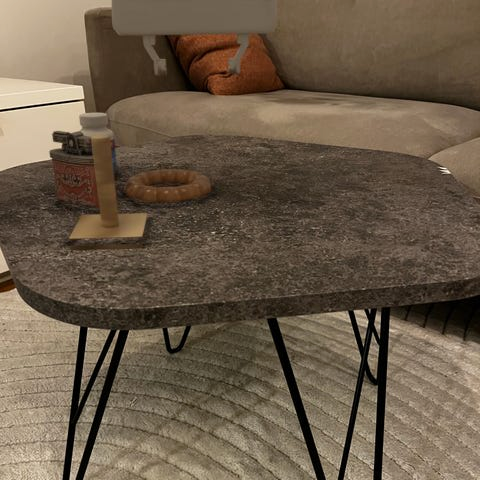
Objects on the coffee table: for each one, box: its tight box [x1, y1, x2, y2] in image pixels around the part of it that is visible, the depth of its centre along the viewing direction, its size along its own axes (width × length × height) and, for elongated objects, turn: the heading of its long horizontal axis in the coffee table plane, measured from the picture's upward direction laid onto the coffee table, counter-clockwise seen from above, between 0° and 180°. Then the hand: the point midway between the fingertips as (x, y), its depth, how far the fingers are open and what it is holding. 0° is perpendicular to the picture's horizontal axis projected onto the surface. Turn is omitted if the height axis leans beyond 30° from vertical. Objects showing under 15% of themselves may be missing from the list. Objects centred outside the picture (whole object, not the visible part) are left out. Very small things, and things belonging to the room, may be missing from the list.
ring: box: [122, 168, 212, 203], centre depth 82 cm, size 12×12×3 cm
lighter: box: [48, 130, 99, 207], centre depth 76 cm, size 8×3×10 cm, turn 59°
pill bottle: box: [78, 112, 118, 175], centre depth 88 cm, size 6×5×10 cm
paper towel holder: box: [68, 134, 148, 251], centre depth 66 cm, size 8×8×12 cm
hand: (197, 74), depth 76 cm, fingers open, 8 cm apart
